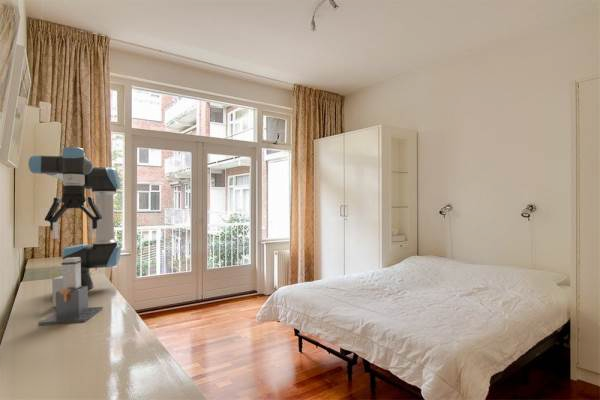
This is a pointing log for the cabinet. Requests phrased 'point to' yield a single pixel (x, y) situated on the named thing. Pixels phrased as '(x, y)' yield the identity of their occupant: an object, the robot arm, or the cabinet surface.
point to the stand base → (71, 307)
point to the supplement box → (56, 287)
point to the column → (72, 273)
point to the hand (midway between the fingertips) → (74, 237)
